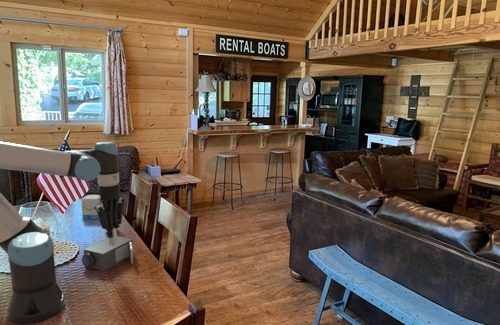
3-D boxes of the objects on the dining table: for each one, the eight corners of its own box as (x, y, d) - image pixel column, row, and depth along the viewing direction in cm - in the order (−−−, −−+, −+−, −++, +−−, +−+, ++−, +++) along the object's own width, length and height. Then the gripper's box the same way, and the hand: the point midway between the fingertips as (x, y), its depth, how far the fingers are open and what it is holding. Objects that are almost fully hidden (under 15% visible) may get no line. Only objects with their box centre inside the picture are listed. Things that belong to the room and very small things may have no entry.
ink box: (97, 219, 197) (96, 198, 195) (82, 219, 198) (80, 198, 195) (104, 214, 206) (103, 194, 204) (89, 214, 206) (87, 194, 204)
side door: (133, 264, 145) (133, 249, 143) (130, 264, 144) (129, 249, 143) (132, 255, 152) (131, 241, 151) (129, 255, 152) (128, 241, 151)
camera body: (99, 273, 137) (98, 254, 136) (80, 268, 141) (78, 249, 140) (133, 255, 154) (132, 237, 152) (115, 250, 158) (114, 233, 157)
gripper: (102, 189, 127) (107, 253, 131) (129, 181, 138) (133, 240, 143) (87, 187, 130) (92, 249, 134) (114, 179, 141) (118, 236, 146)
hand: (113, 244), depth 138 cm, fingers closed
